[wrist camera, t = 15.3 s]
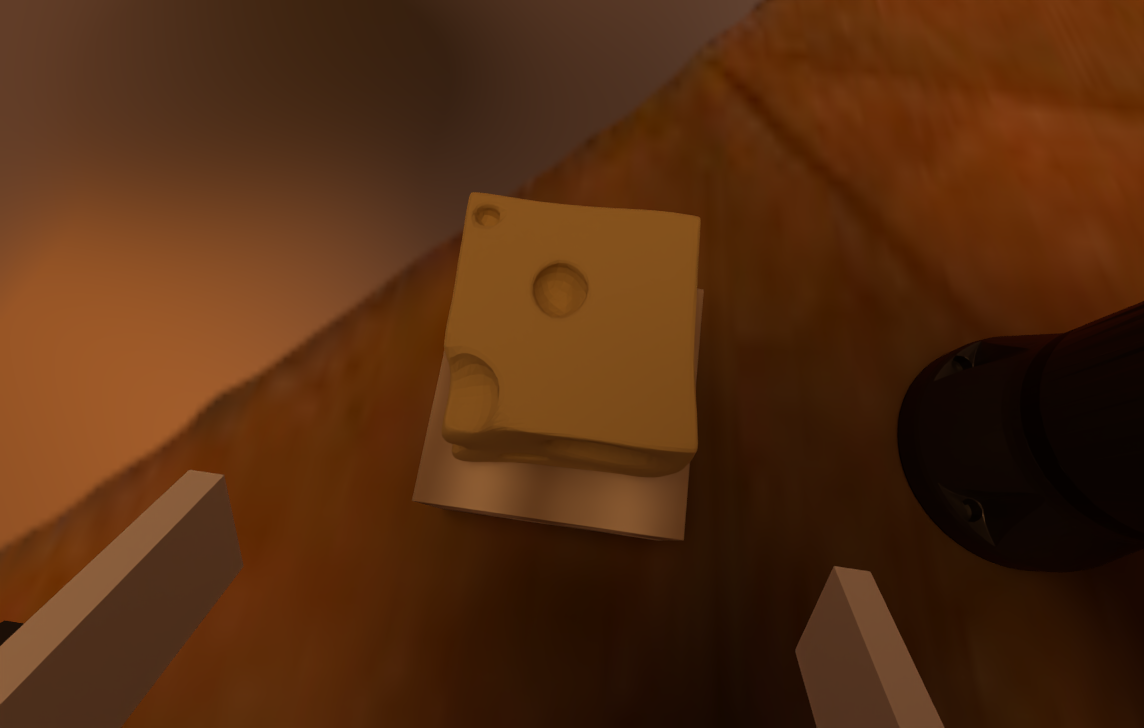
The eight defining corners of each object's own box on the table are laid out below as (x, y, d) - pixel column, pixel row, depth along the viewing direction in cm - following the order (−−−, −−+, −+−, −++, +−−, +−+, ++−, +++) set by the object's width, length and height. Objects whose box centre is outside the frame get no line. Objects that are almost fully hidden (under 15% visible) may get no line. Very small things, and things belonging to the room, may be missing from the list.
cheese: (460, 464, 30) (414, 429, 21) (491, 277, 33) (463, 172, 24) (658, 487, 30) (704, 462, 21) (670, 297, 33) (715, 199, 24)
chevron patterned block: (676, 336, 41) (703, 289, 34) (658, 540, 37) (683, 540, 29) (482, 309, 41) (464, 256, 34) (442, 508, 37) (412, 500, 30)
